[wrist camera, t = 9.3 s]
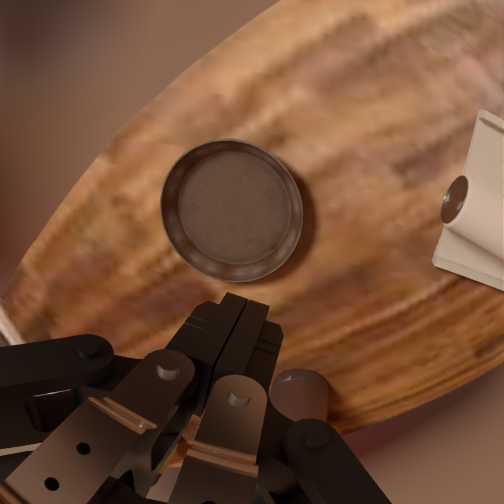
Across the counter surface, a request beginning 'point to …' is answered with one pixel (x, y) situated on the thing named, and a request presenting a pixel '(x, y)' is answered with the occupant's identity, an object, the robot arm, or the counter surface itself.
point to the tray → (495, 178)
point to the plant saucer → (231, 210)
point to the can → (475, 214)
